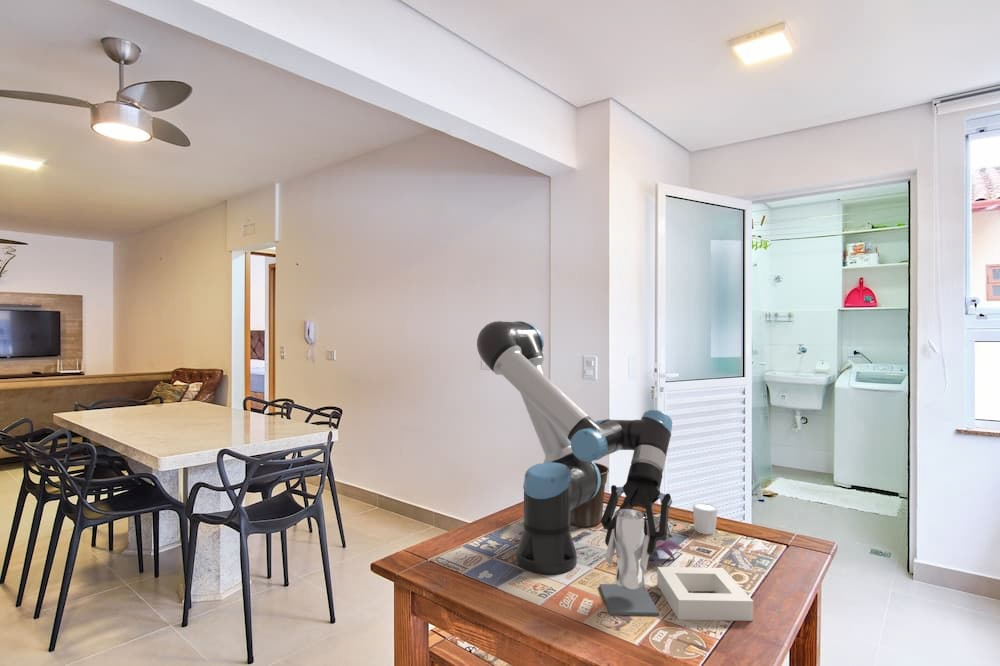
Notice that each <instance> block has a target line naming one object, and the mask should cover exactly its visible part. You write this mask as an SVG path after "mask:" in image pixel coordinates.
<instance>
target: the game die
mask: <svg viewBox="0 0 1000 666" xmlns="http://www.w3.org/2000/svg"><path fill="white" fill-rule="evenodd" d="M653 516H654V522H655V528H656V530H659V525H660V513H656V514H653ZM647 523H648V520H647ZM677 526H678V524H676V523H675V524H674V523H673V522H672V521H671V520H669V519H668V525H667V539H670V538H671V539H672V538H673V535H672V533H673V530H674V527H677Z"/></svg>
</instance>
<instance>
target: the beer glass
mask: <svg viewBox="0 0 1000 666" xmlns="http://www.w3.org/2000/svg"><path fill="white" fill-rule="evenodd" d="M614 516H615V522H614V542H615V553H616V561H617V570H616V575H615V584H617V585H618V586H620V587H622V588H625V589H629V590H637V589H641V588H643V587H644V586H645V578H644V571H642V570H641V567H640V560H641V556H642V551H643V546H644V542H645V540H646V537H647V514H646V513H645V512H644V511H643V510H639V509H633V508H632V509H620V510H619V509H618V510H615V511H614Z"/></svg>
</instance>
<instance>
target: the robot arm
mask: <svg viewBox="0 0 1000 666" xmlns="http://www.w3.org/2000/svg"><path fill="white" fill-rule="evenodd" d="M476 339H477V340H476V347H477V348H476V349H477V352H478V355H479V357H480V358H481V359H482V361H483V362H484V364H485V365H486V366H487V367H488V368H489V369H490V370H491V371H492V372H493V373H494V374H495V375H498V376H500V375H502V376H503V377H504V378H505V379H506V380H507V381H508V382H509V383H510V384H511V386H513V387H514V388H515V389H516V390H517V391H518V392H519V393H520V395H521V399H522V400H523V403H524V405H525V407H526V412H527V413H528V416H529V418H530V421H531V423H532V426H533V427H534V431H535V433H536V435H537V438H538V441H539V443H540V446H541V448H542V451H543V453H544V457H545V458H544V460H543V462H542V463H537V464H534V465H531V466H530V467H529V468H528V469H527V470H526V471H525V474H524V481H523V484H522V485H523V486H522V487H523V530H522V532H521V535H520V539H519V541H518V545H517V548H516V551H515V552H516V553H515V556H516V557H515V561H516V563H517V565H518V566H520V567H521V568H522V569H524V570H526V571H528V572H533V573H536V574H542V575H543V574H544V575H558V574H563V573H567V572H569V571H571V570H573V569H574V568H575V567H576V566H577V563H578V562H577V560H578V556H577V555H578V554H577V550H576V547H575V544H574V540H573V536H572V534H571V525H570V511H571V510H573V509H575V508H577V507H578V506H580V505H582V504H584V503H587V502H589V501H590V500H591V499H592V498H593V497H594V496H595V495H596V494H597V492H598V490H599V488H600V484H601V476H600V472H599V469H598V467H597V466H596V464H595V463H596V462H594V461H598V460H601V459H602V458H604V457H606V456H608V455H610V454H613V453H615V452H618V451H633V454H632V458H631V462H630V466H629V469H628V473H627V479H626V482H625V483H624V485H623V486H617V485H615V484H613V485H611V486H610V496H609V499H608V502H607V504H606V508H605V509H604V512H603V513H602V520H601V522H600V524H601V525H602V527H603V529H604V530H606V535H605V539H604V542H605V545H606V547H607V548H606V553H605V556H604V558H605V560H606V562H607V564H612V563H613V559H614V555H615V552H616V549H615V542H614V522H615V512H616V508H617V506H618V503H619V499H620V498H622V497H621V496H622V494H623V493H624V495H625V497H624V498H623V502H622V503H621V505H620V507H619V508H618V510H620V509H633V508H634V507H635V508H637V507H640V508H642V509H645V512H646V513H645V514H646V519H647V520H648V526H649V534H650V537H649V536H647V537H646V540H645V542H644V546H643V551H642V556H641V560H640V567H641V570H642V571H643V572H646V571H647V567H648V563H649V560H648V557H649V558H650V556H654V554H655V552H656V551H655V547H656V542H657V541H658V540H662V541H665V540H666V539H667V525H668V520H669V510H670V507H671V505H672V503H673V499H672V497H671V494H670V493H665V494H664V493H662V492H661V486H662V485H661V484H662V480H663V472H664V470H665V466H666V460H667V455H668V450H669V446H670V445H669V444H670V441H671V437H672V430H673V429H672V427H673V421H672V418H671V417H670V415H668V414H667V413H666V412H664V411H662V410H658V409H650V410H647V411H644V413H643V414H642V417H641V419H630V420H629V419H610V418H608V419H607V418H605V419H599V420H596V421H595V420H593V418H592V417H590V416H589V415H588V414H587V413H586V412H585V411H584V410H583V409H581V407H580V406H578V405H577V404H576V403H575V402H574V401H573V400H572V399H571V398H570V397H568V395H566V394H565V392H563V391H562V390H561V389H560V388H559V387H558V386H557V385H556V384H555V383H553V381H552V380H551V379H549V378H548V377H547V374H546V372H545V371H544V368H543V363H544V361H545V356H544V354H543V350H544V349H543V347H545V341H544V337H543V335H542V332H541V331H540V329H539V328H538V327H536V326H535V325H534V324H532V323H530V322H526V321H520V320H519V321H517V320H516V321H501V320H497V321H493V322H489V323H488V324H486V325H485V326H483V328H481V330H480V331H479V333H478V337H477V338H476ZM658 500H659V501H660V513H659V514H660V525H659V532H656V528H655V522H654V516H653V515H654V511H653V504H655V503H656V502H657V501H658ZM649 555H650V556H649ZM647 562H648V563H647Z"/></svg>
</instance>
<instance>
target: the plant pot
mask: <svg viewBox="0 0 1000 666" xmlns="http://www.w3.org/2000/svg"><path fill="white" fill-rule="evenodd" d="M594 463H595V464H596V466H597V467H598V469H599V472H600V476H601V484H600V488H599V490H598V492H597V494H596V495H595V496H594V497H593V498H592V499H591V500H590V501H589V502H587V503H584V504H582V505H580V506H578V507H577V508H575V509H573V510H571V511H570V526H572V525H575V526H576V527H577V528H579V527H580V528H591V526H592V527H595V526H598V525H600V524H601V520H602V517H603V513H604V512H603V511H604V501H605V500H604V499H605V490H606V484H607V478H608V473H609V472H610V468H609V467H608V466H606V465H605V464H602V463H599V462H594Z"/></svg>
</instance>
